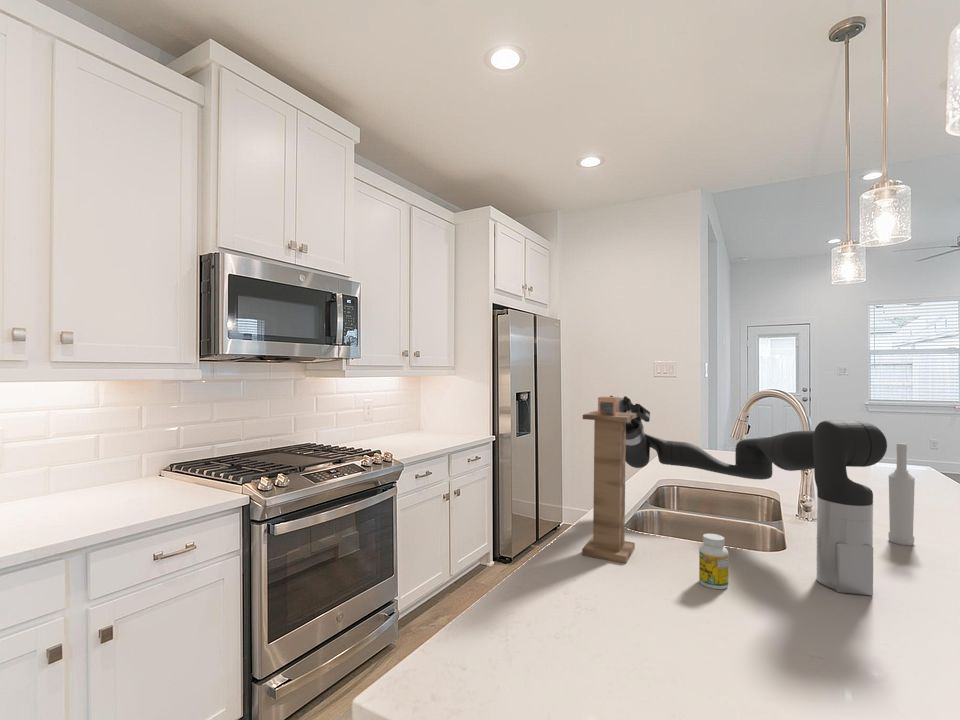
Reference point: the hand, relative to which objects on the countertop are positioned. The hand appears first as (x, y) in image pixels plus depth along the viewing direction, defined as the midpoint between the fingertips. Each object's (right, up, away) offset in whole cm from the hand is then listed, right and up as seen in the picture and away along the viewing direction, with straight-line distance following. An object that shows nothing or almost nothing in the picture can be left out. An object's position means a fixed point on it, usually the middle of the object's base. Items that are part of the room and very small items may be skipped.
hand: (617, 399), depth 127 cm
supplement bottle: (+13, -36, -24) cm, 45 cm away
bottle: (+73, -37, +2) cm, 81 cm away
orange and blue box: (-1, -3, -3) cm, 4 cm away
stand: (-4, -35, -7) cm, 36 cm away
